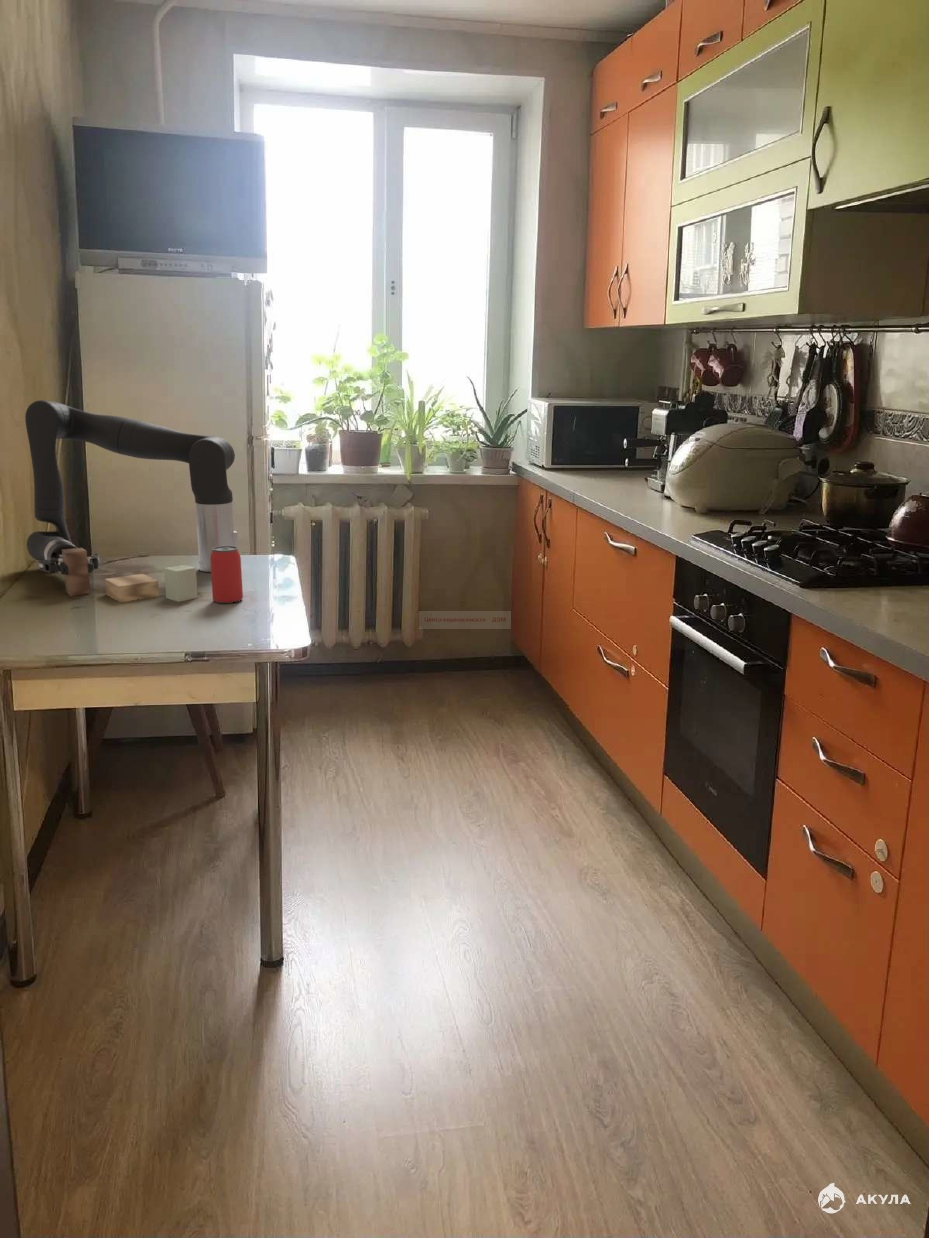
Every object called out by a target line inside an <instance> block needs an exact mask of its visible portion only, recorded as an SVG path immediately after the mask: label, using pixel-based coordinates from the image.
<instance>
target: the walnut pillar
mask: <svg viewBox="0 0 929 1238" xmlns="http://www.w3.org/2000/svg"><path fill="white" fill-rule="evenodd" d="M87 553H88V551H87V550H86V549H85V548H83V547H77V548H74V549H63V550H62V557H63V563H65V564H66V565H67V566H68V572H69V575H63V576H64V585H65V586H64V587H65V592H66V593H67V595H69V597H72V596H75V597H76V596H81V595H90V593H91V585H90V583H91V581H90V574H89V573H88V561H87V557H88V554H87Z"/></svg>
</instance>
